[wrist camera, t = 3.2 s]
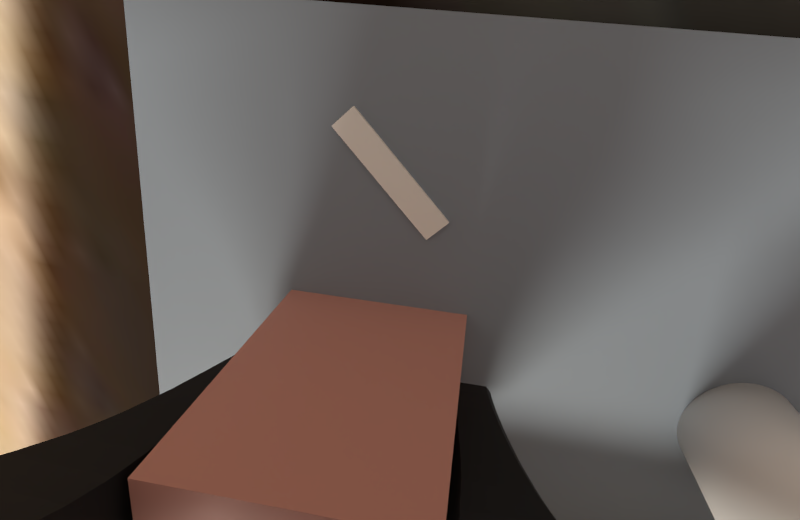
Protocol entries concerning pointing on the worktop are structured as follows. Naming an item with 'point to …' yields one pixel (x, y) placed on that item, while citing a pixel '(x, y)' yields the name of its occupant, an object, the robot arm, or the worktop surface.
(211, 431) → the block
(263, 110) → the board
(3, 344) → the worktop surface
